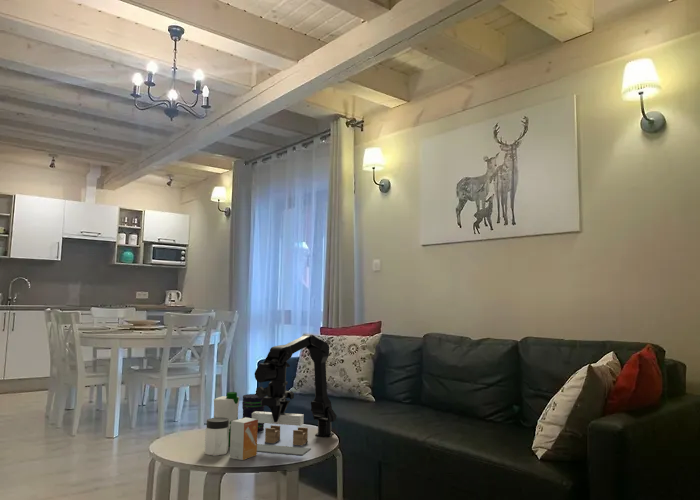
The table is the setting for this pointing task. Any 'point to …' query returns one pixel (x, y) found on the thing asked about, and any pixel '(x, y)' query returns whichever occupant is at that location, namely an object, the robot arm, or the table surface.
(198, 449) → the table surface
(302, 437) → the post
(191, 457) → the table surface
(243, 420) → the small box
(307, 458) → the table surface
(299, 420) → the long white bar
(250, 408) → the storage jar
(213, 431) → the jar
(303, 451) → the mat
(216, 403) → the milk carton
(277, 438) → the post
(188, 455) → the table surface
